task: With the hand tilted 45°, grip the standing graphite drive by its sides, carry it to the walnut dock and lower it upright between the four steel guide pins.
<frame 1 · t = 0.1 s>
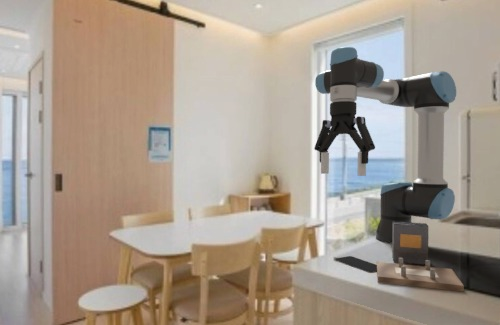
hand: (342, 174, 104), 28 cm above the countertop, tool pointing down, fingers open, 13 cm apart
drive: (409, 261, 114), on the countertop
smartphone: (359, 266, 110), on the countertop
dock: (415, 277, 97), on the countertop
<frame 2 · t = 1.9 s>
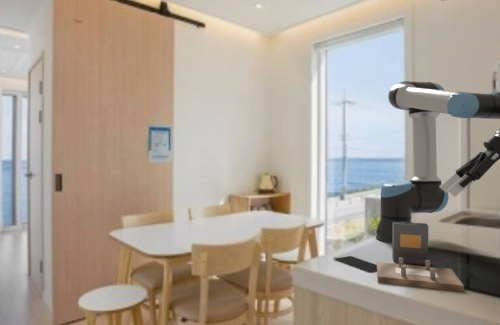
hand: (446, 191, 110), 23 cm above the countertop, tool tilted 45°, fingers open, 13 cm apart
nothing on the countertop moved.
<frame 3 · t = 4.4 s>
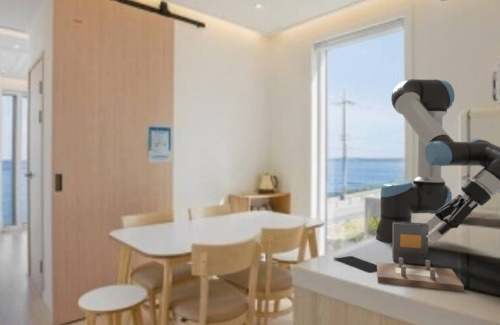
hand: (425, 235, 111), 9 cm above the countertop, tool tilted 45°, fingers open, 13 cm apart
nothing on the countertop moved.
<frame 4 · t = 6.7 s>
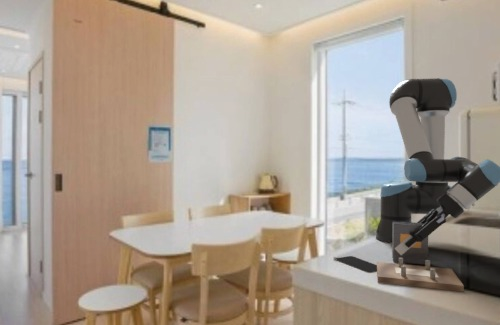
hand: (397, 249, 115), 3 cm above the countertop, tool tilted 45°, fingers closed on drive, 5 cm apart
drive: (409, 260, 114), on the countertop, touching gripper
everything else where it was.
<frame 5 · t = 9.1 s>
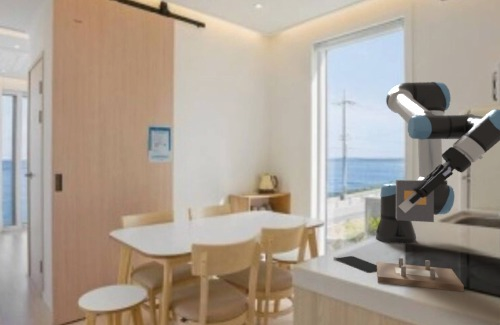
hand: (400, 208, 109), 18 cm above the countertop, tool tilted 45°, fingers closed on drive, 5 cm apart
drive: (414, 219, 108), point 14 cm above the countertop, touching gripper
everything else where it was.
when the fingers open (7 cm above the countertop, at t = 11.8 s): drive drops 2 cm, resting on dock.
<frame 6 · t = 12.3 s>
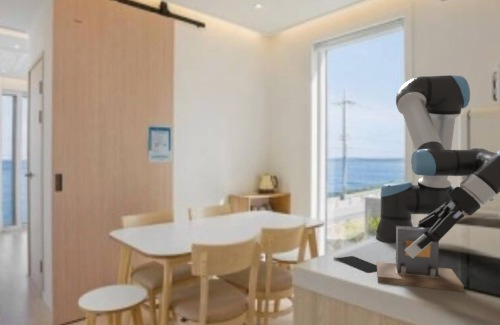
hand: (405, 248, 98), 8 cm above the countertop, tool tilted 45°, fingers open, 12 cm apart
drive: (416, 272, 98), point 2 cm above the countertop, touching dock
everything else where it was.
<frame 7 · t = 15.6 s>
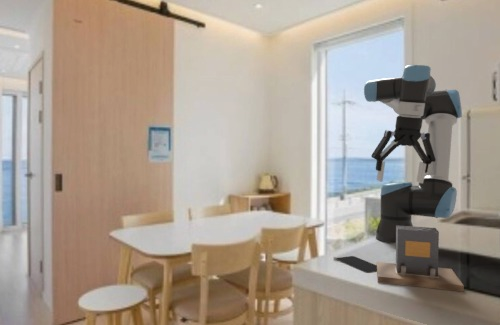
hand: (399, 181, 116), 25 cm above the countertop, tool pointing down, fingers open, 13 cm apart
nothing on the countertop moved.
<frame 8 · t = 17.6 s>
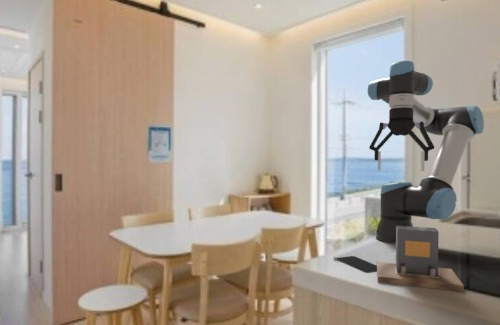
hand: (400, 170, 121), 29 cm above the countertop, tool pointing down, fingers open, 13 cm apart
nothing on the countertop moved.
at the end: drive 0.1 cm off-centre on the dock, point 1.6 cm above the dock's base; drive tilted 0°; the gripper is holding nothing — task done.
